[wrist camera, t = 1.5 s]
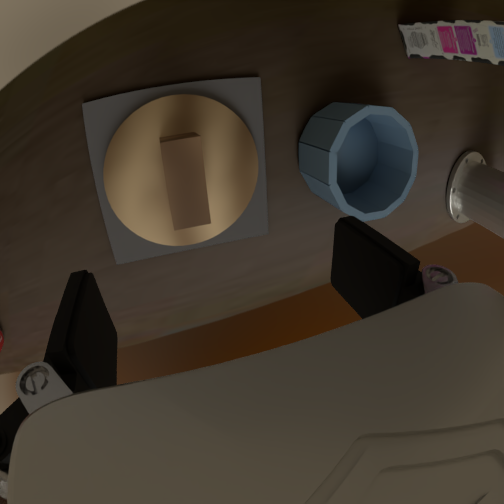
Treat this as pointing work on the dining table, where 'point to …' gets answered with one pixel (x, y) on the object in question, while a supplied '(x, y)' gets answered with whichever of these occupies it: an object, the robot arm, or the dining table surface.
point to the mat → (123, 105)
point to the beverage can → (1, 340)
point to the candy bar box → (455, 40)
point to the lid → (180, 170)
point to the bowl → (359, 158)
